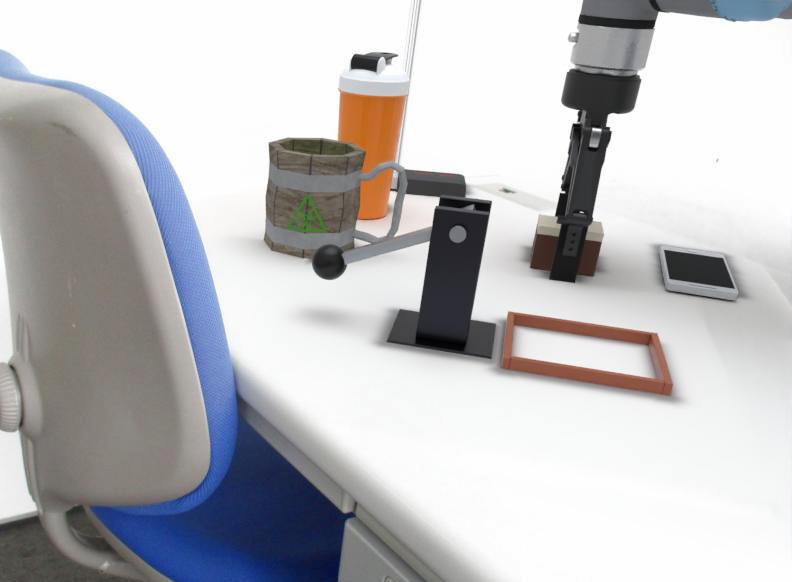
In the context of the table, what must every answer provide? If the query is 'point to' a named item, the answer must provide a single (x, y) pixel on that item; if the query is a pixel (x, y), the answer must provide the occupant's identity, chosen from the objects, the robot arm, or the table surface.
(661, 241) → the table surface
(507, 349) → the reddish-brown rectangular frame
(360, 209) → the shaker bottle
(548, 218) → the cake slice
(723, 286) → the smartphone
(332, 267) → the lever
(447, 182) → the usb drive
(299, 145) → the mug
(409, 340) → the lever stand
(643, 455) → the table surface
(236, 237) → the table surface
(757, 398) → the table surface
